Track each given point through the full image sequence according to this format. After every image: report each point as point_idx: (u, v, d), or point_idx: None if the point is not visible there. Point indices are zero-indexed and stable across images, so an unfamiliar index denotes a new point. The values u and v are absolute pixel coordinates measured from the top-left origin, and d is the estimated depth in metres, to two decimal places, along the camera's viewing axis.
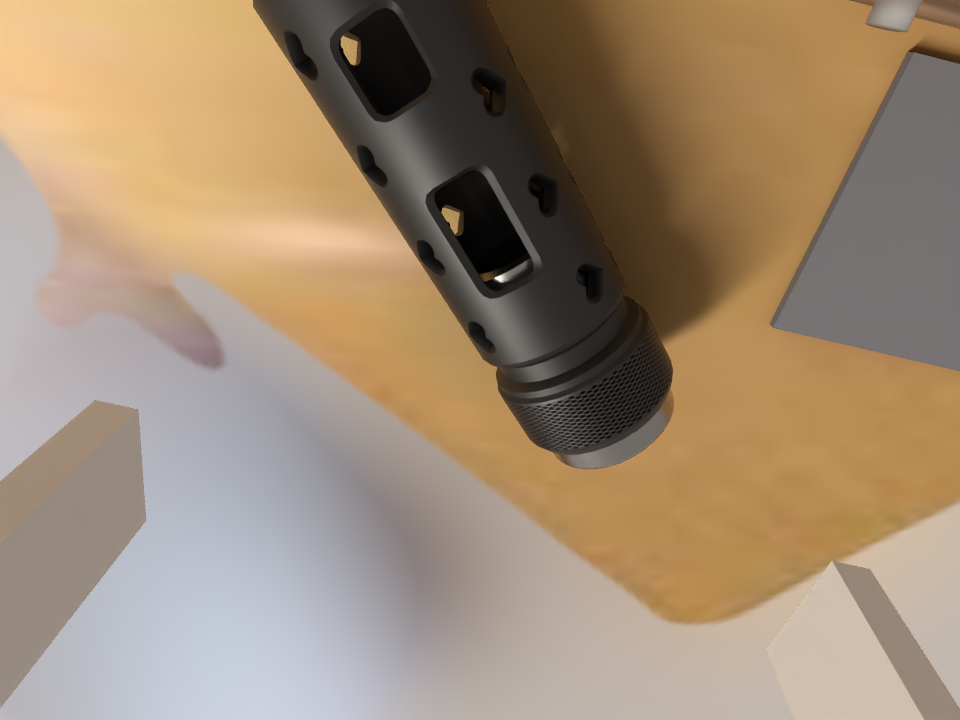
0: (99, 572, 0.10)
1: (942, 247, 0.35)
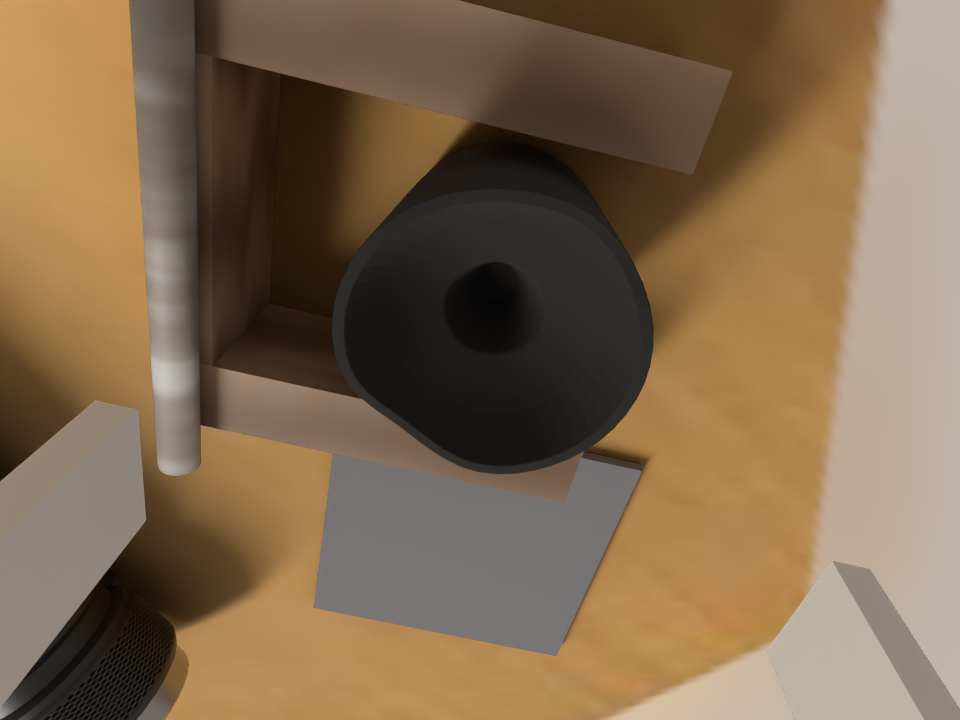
0: (99, 572, 0.10)
1: (442, 553, 0.35)
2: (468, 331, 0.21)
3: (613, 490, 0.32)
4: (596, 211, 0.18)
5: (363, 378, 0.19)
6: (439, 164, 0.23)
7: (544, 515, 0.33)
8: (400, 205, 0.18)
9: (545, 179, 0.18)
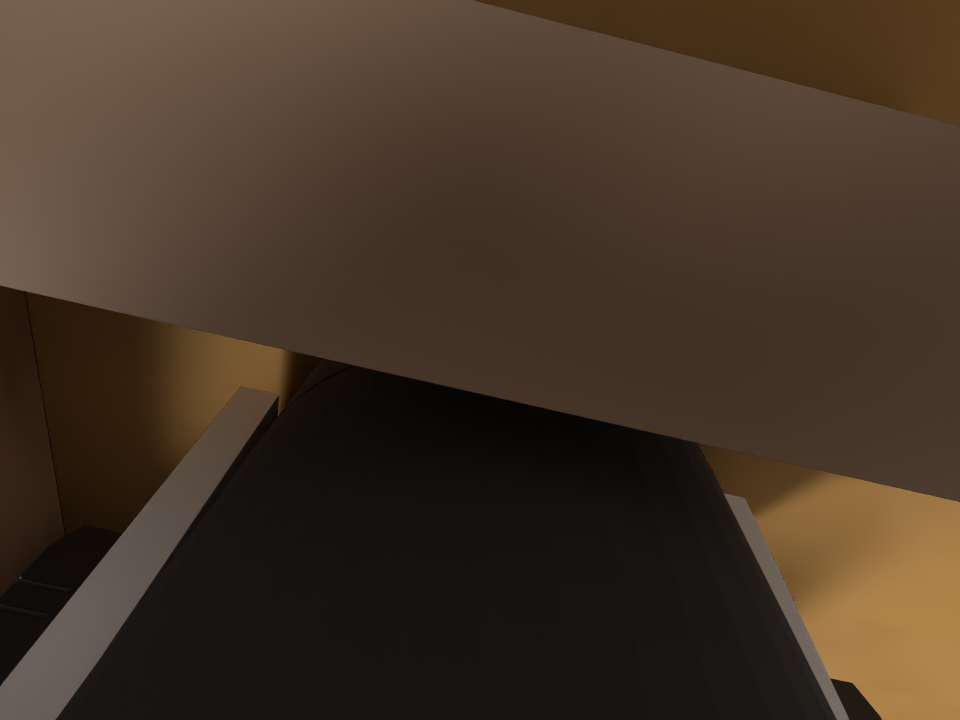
0: None
1: None
2: None
3: None
4: None
5: None
6: None
7: None
8: (90, 709, 0.05)
9: (622, 625, 0.05)
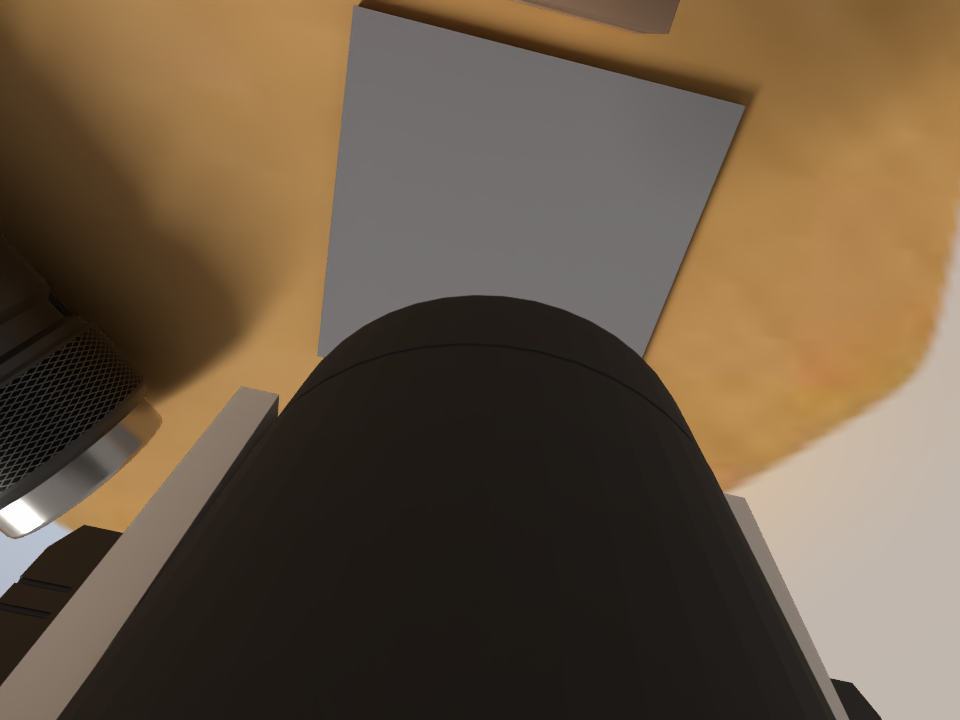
0: None
1: (480, 259, 0.28)
2: None
3: (705, 141, 0.25)
4: None
5: None
6: (339, 362, 0.10)
7: (613, 189, 0.26)
8: (89, 712, 0.05)
9: (623, 628, 0.05)
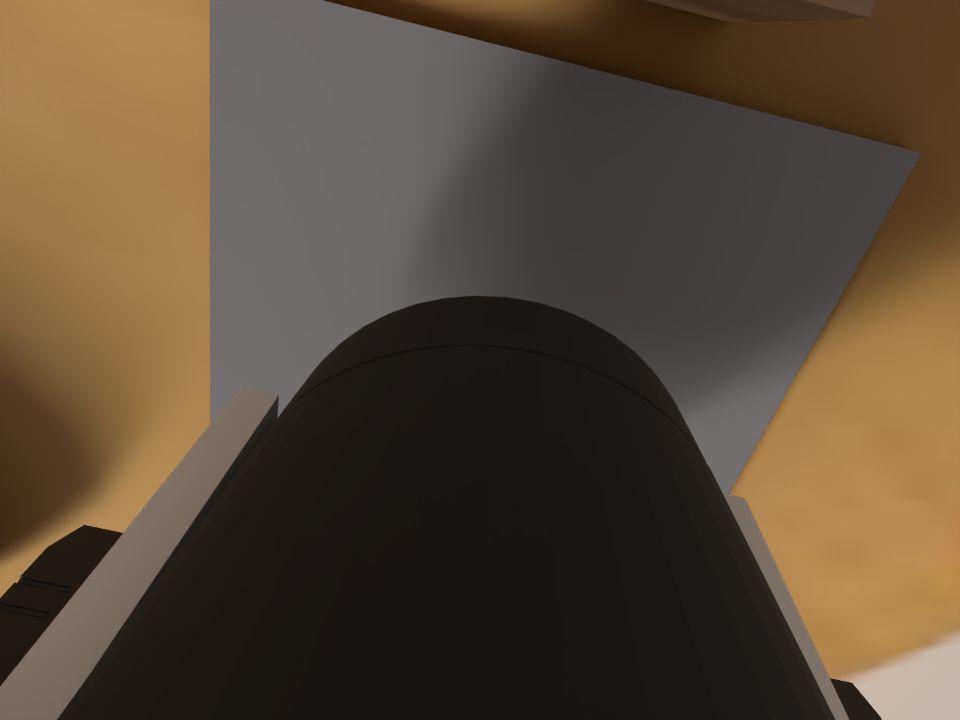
0: None
1: None
2: None
3: (842, 213, 0.14)
4: None
5: None
6: (339, 363, 0.10)
7: (675, 289, 0.15)
8: (89, 713, 0.05)
9: (622, 630, 0.05)
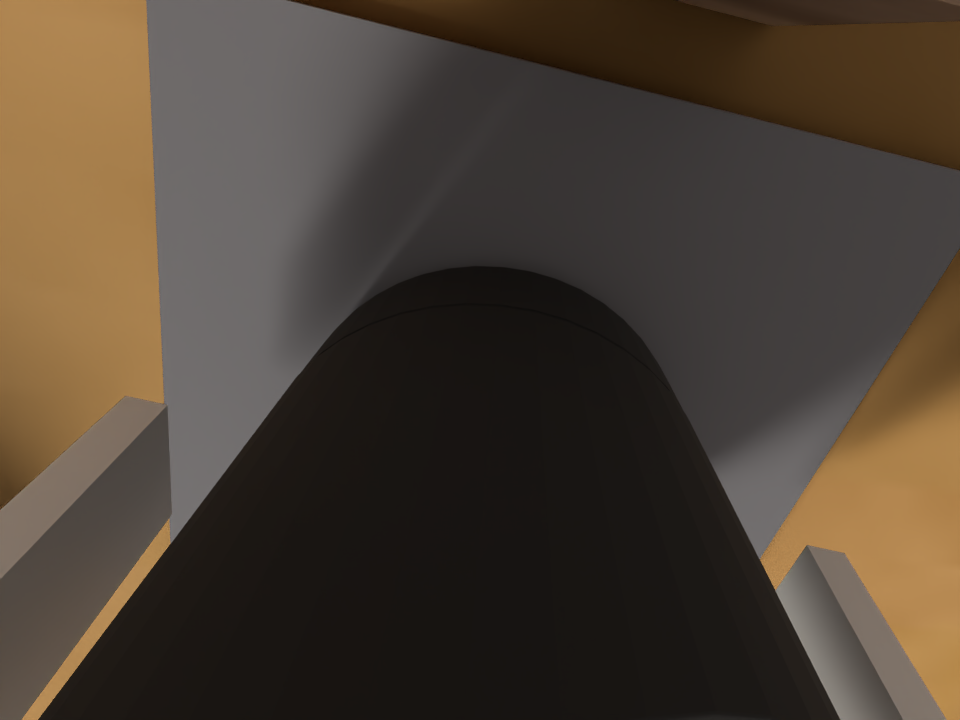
0: (129, 563, 0.11)
1: None
2: None
3: (903, 252, 0.12)
4: (749, 600, 0.06)
5: None
6: (355, 323, 0.11)
7: (702, 337, 0.13)
8: (168, 573, 0.06)
9: (597, 503, 0.06)
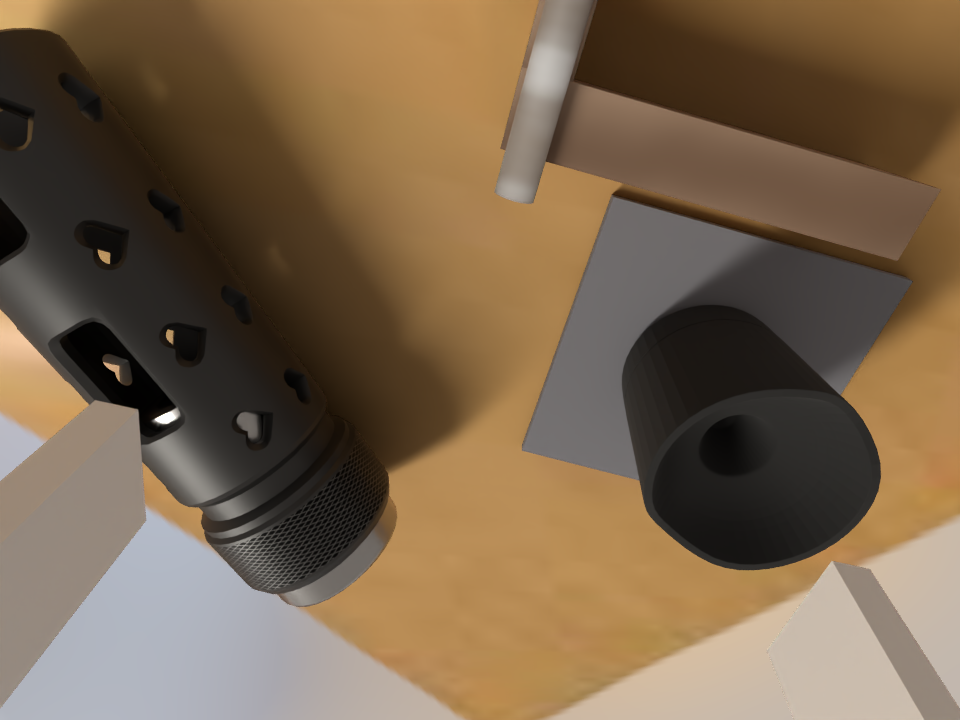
0: (99, 572, 0.10)
1: None
2: (708, 457, 0.28)
3: (877, 304, 0.31)
4: None
5: (654, 499, 0.26)
6: (677, 325, 0.30)
7: (796, 335, 0.32)
8: (697, 381, 0.25)
9: (800, 367, 0.25)
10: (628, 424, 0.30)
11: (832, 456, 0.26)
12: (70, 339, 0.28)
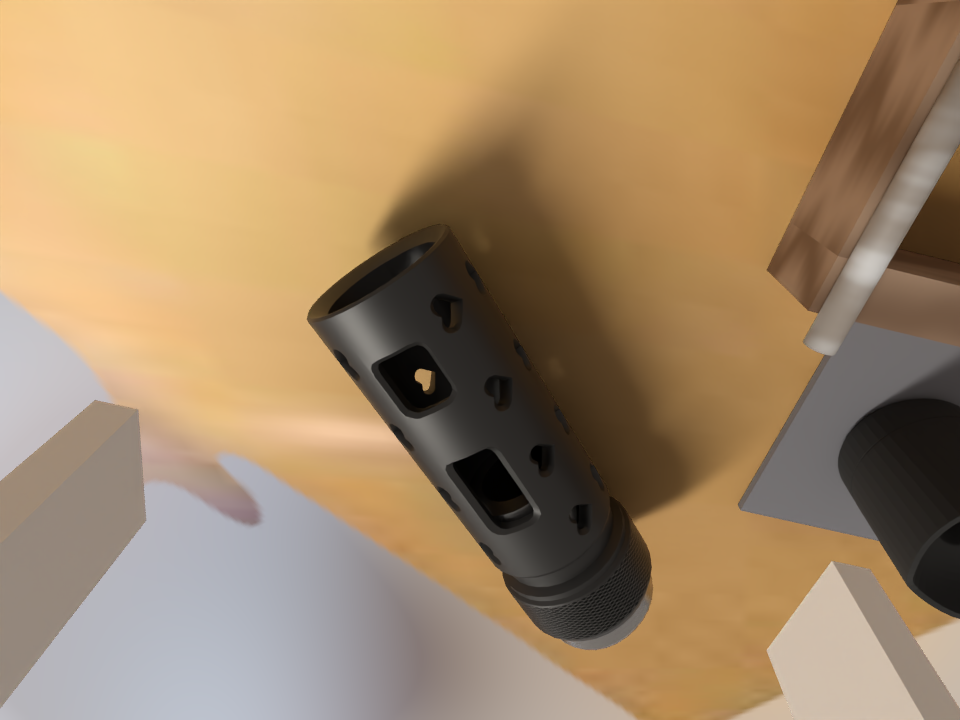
0: (99, 572, 0.10)
1: None
2: None
3: None
4: None
5: (914, 570, 0.33)
6: (903, 419, 0.37)
7: None
8: (954, 481, 0.32)
9: None
10: (862, 499, 0.38)
11: None
12: None
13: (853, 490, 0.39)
